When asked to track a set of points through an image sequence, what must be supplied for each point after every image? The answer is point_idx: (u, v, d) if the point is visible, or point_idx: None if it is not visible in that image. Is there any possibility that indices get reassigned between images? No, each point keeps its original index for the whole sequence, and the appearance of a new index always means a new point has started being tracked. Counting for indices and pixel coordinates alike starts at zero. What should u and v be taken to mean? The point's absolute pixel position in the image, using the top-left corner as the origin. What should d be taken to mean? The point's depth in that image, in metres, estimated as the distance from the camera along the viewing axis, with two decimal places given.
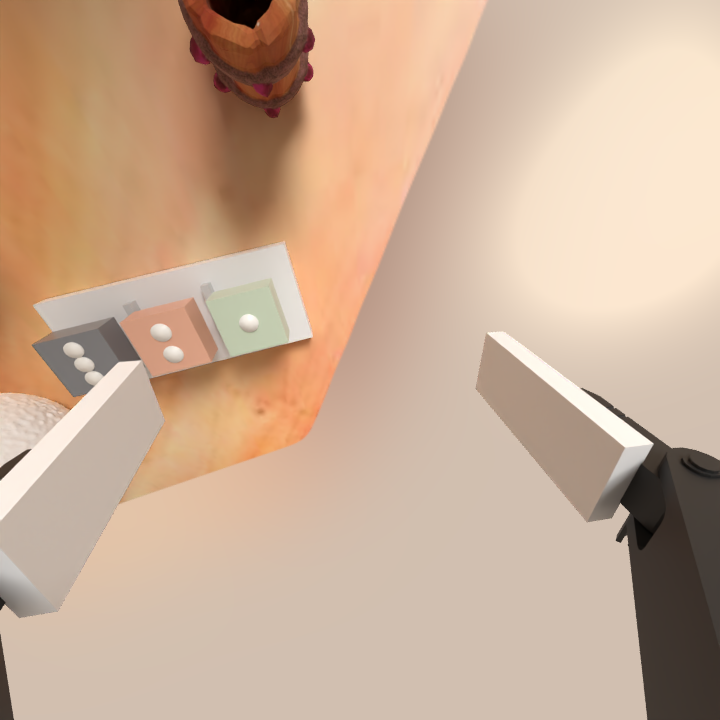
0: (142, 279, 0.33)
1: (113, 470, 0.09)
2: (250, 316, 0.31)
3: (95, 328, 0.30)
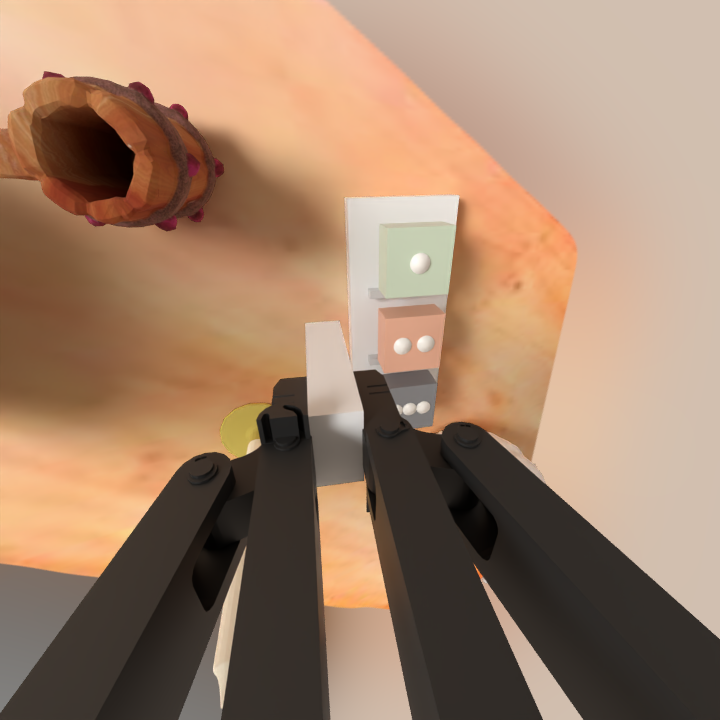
0: (352, 342, 0.37)
1: None
2: (413, 259, 0.28)
3: None
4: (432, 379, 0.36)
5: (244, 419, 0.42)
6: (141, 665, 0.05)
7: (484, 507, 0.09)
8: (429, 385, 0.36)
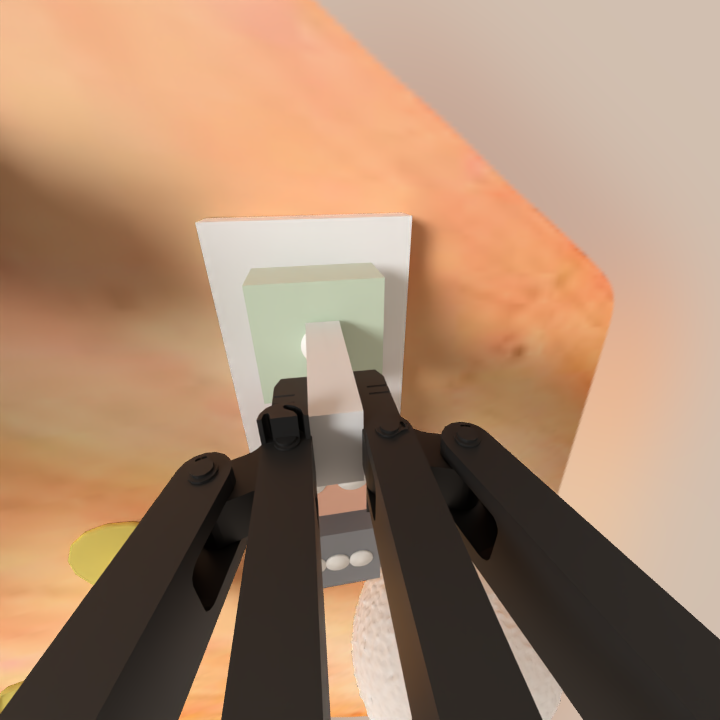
0: (250, 448, 0.23)
1: None
2: (305, 340, 0.15)
3: None
4: None
5: (103, 545, 0.28)
6: (141, 665, 0.05)
7: (484, 507, 0.09)
8: (368, 530, 0.21)
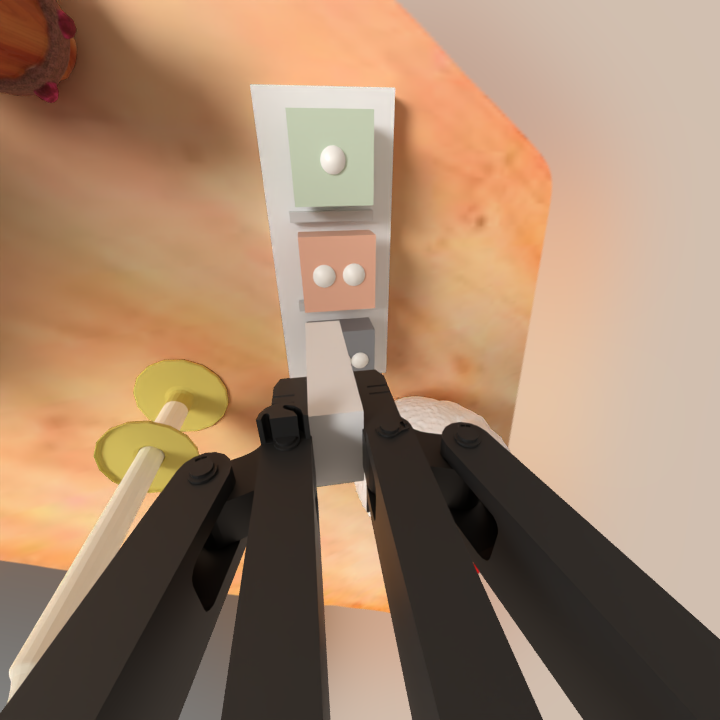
0: (278, 283, 0.31)
1: None
2: (323, 153, 0.23)
3: None
4: (370, 326, 0.30)
5: (161, 378, 0.36)
6: (141, 665, 0.05)
7: (484, 507, 0.09)
8: (365, 332, 0.29)
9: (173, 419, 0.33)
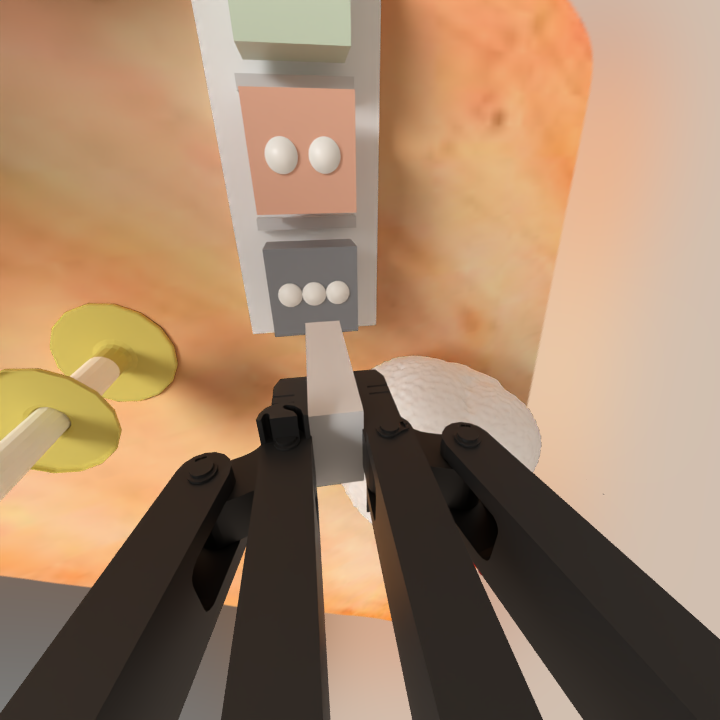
0: (228, 191, 0.23)
1: None
2: None
3: None
4: (351, 244, 0.22)
5: (84, 329, 0.28)
6: (141, 665, 0.05)
7: (484, 507, 0.09)
8: (343, 249, 0.21)
9: (92, 377, 0.25)
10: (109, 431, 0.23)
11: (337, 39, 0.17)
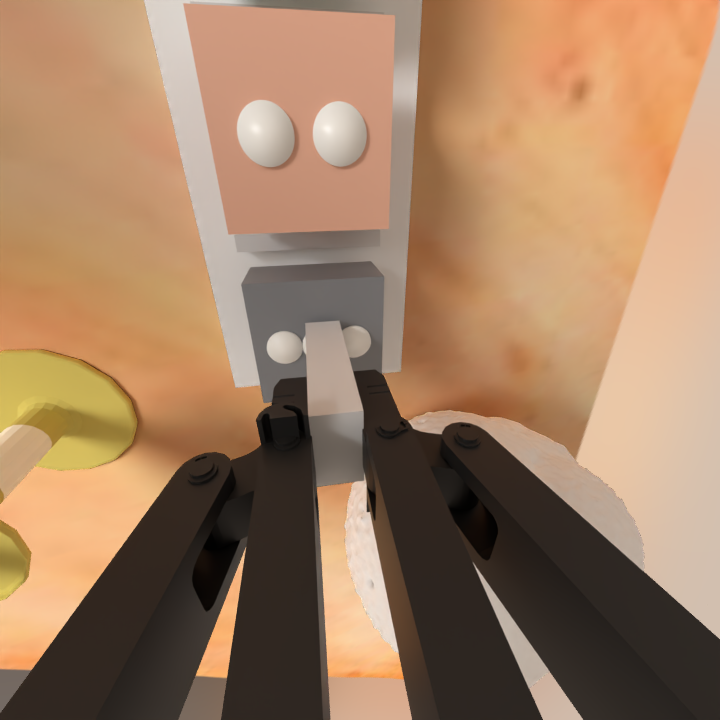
0: (192, 194, 0.16)
1: None
2: None
3: None
4: (374, 272, 0.15)
5: (2, 384, 0.20)
6: (141, 665, 0.05)
7: (484, 507, 0.09)
8: (364, 281, 0.14)
9: None
10: (12, 555, 0.15)
11: None
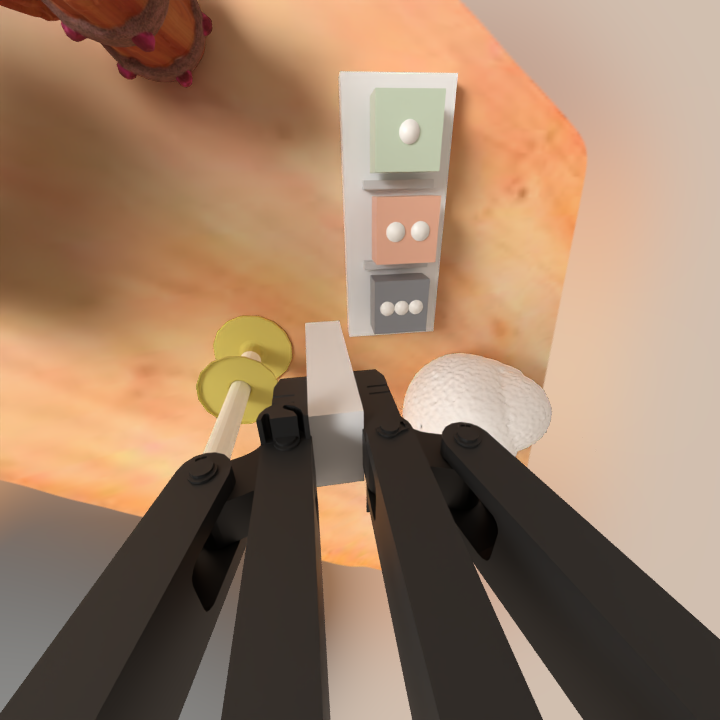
0: (347, 245, 0.36)
1: None
2: (402, 126, 0.28)
3: (374, 284, 0.35)
4: (425, 277, 0.36)
5: (237, 332, 0.41)
6: (141, 665, 0.05)
7: (484, 507, 0.09)
8: (421, 281, 0.35)
9: None
10: (272, 397, 0.36)
11: (431, 168, 0.30)
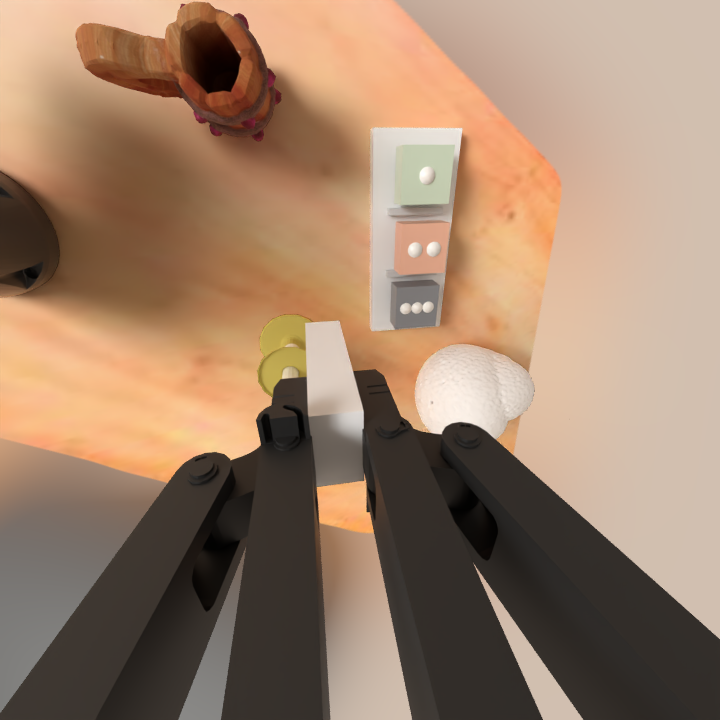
0: (373, 257, 0.45)
1: None
2: (422, 171, 0.37)
3: (396, 289, 0.44)
4: (435, 283, 0.45)
5: (280, 328, 0.50)
6: (141, 665, 0.05)
7: (484, 507, 0.09)
8: (433, 287, 0.44)
9: None
10: None
11: (443, 201, 0.39)
